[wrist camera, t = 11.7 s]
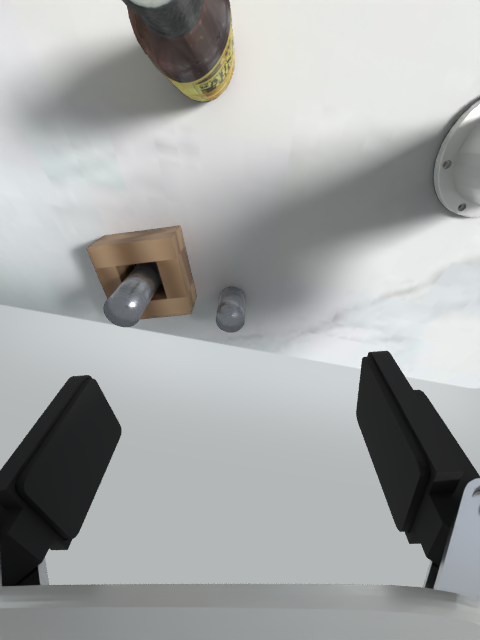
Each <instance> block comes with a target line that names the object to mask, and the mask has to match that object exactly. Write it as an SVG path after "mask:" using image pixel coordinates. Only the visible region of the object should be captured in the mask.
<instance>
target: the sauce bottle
mask: <svg viewBox="0 0 480 640" xmlns="http://www.w3.org/2000/svg"><path fill="white" fill-rule="evenodd" d="M122 1H123V2H124V3H125V4H126V5H127V9H128V14H129V19H130V22H131V25H132V28H133V31H134V34H135V36H136V38H137V41H138V42H139V44H140V45H141V47H142V49H143V50H144V52H145V53H146V54H147V55H148V56H149V58H150V59H151V61H152V62H153V64H154V65H155V66H156V67H157V68H158V69H159V70H160V72H161V73H163V74H164V75H165V76H166V77H167V78H168V79H169V80H170V81H171V82H172V83H173V84H174V85H175V86H176V87H177V88H178V89H179V90H180V91H181V92H182V93H183V94H185V95H186V96H188V97H189V98H191V99H193V100H196V101H210V100H214V99H216V98H217V97H218V96H219V95H221V94H222V93H223V92H224V90H225V89H226V88H227V86H228V84H229V83H230V80H231V78H232V75H233V71H234V64H235V54H234V43H233V32H232V19H231V9H230V2H229V0H122Z"/></svg>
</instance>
